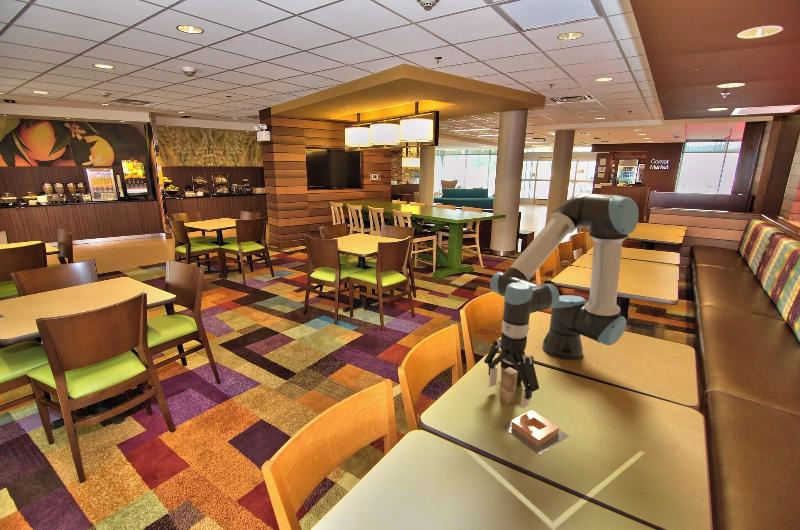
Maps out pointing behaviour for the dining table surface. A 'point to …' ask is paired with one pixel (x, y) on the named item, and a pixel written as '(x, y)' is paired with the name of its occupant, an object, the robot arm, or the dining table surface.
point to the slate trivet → (539, 449)
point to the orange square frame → (535, 428)
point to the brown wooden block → (508, 386)
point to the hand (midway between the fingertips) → (507, 395)
